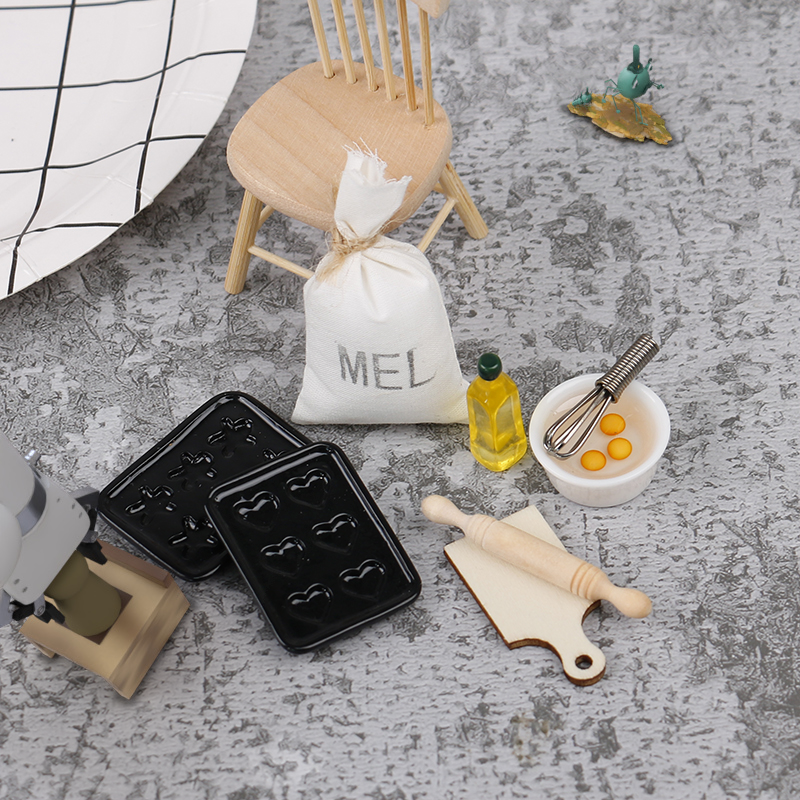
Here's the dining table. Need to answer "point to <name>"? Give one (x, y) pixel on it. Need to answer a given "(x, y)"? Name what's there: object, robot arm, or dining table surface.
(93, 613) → the cork
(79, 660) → the wooden square frame
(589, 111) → the teal creature figurine
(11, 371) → the dining table surface
